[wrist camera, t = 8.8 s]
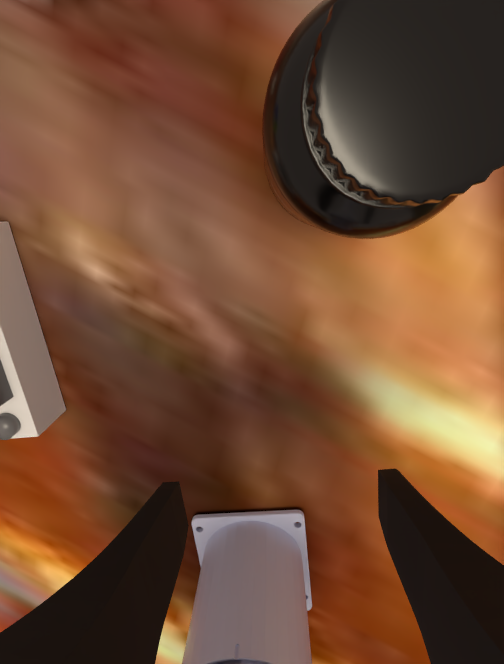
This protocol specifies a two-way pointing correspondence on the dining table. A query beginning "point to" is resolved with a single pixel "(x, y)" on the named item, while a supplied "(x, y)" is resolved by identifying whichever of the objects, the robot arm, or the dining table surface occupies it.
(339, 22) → the supplement bottle
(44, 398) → the camera body
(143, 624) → the robot arm
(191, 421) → the dining table surface
